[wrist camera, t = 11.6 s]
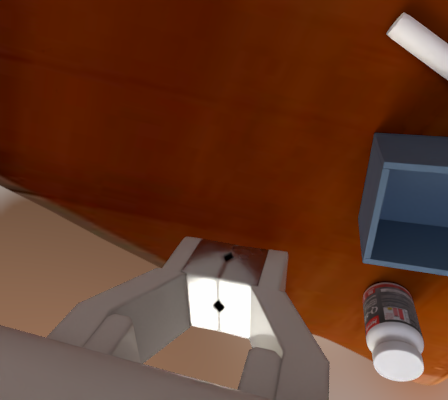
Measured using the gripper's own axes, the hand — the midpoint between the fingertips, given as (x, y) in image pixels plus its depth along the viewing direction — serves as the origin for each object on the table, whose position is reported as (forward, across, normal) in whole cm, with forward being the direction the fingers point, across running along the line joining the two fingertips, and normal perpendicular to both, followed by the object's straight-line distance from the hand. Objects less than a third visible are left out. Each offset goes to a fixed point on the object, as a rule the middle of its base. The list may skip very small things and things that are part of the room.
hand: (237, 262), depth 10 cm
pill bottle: (+29, -12, +25) cm, 40 cm away
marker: (+29, -14, -1) cm, 33 cm away
